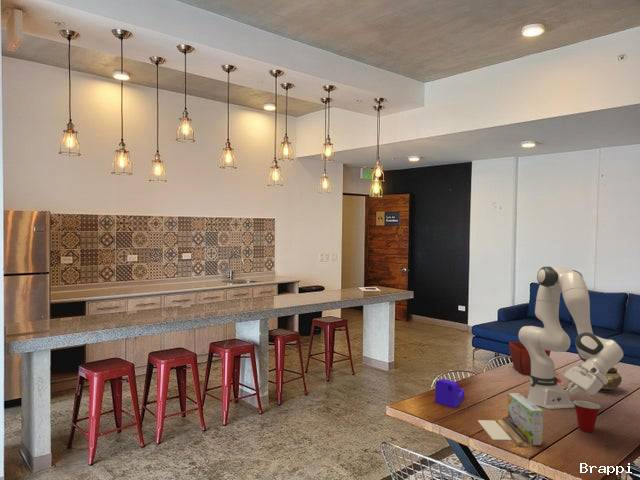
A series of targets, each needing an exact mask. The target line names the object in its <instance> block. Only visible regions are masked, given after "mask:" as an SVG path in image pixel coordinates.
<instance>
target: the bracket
mask: <svg viewBox="0 0 640 480" xmlns="http://www.w3.org/2000/svg"><path fill="white" fill-rule="evenodd" d="M434 387H435V388H434V390H435V396H434V403H437V404H440V405H442V406H446V407H448V408H452V409H455V408H457V407H459V406H460V405H461V403H462V402H463V400H464V399H465V392H466V391H465V389H464V388H460V385H459V383H458V382H456V381H454V380H450V379H446V378H441V379H439V380H436V381H435V386H434Z"/></svg>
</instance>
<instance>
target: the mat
mask: <svg viewBox="0 0 640 480" xmlns="http://www.w3.org/2000/svg"><path fill="white" fill-rule="evenodd" d="M477 422H478V423H479V424H480V425H479V426H481V427H482V428H483V430H484V431H485V432H486V433H487V434H488V436H489V437H490V438H491V440H492V441H513V440H512V439H511V438H510V437H509V436H508V435H507V434H506V432H505V431H504V430H503V429H502V428H501V427H500V426H499V425H498V421H497V422H496V420H493V419H491V420H485V419H482V420H481V419H478V420H477Z"/></svg>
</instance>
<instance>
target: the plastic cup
mask: <svg viewBox="0 0 640 480" xmlns="http://www.w3.org/2000/svg"><path fill="white" fill-rule="evenodd" d="M572 402H573V403H574V406H575V407H574V409H575V413H576V421H577V425H578V426H577V427H578V429H579V431H582V432H586V433H593V432H594V430H595V426H596V423H597V418H598V415H599V412H600V409H601V405H599V404H598V403H595V402H591V401H585V400H574V401H573V400H572Z"/></svg>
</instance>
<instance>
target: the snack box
mask: <svg viewBox="0 0 640 480" xmlns="http://www.w3.org/2000/svg"><path fill="white" fill-rule="evenodd" d="M507 397H508V398H507V399H508V400H507V419H508V420H509V421H510V422H511V424H512V425H513V426H514V427H515V428H516V429H517V430H518V431H519V432H520V433H521V434H522V435H523V436H524V437H525V438H526V439H527V443H528V445H530V447H533V446H543V431H544V429H543V428H544V427H543V425H544V423H543V421H544V410H543V409H542V408H540V406H537V405H534V404H533V403H532V402H530V401H529V400H527V398H526V397H525V396H523V395H522V394H520V393H519V392H508V393H507Z"/></svg>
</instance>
